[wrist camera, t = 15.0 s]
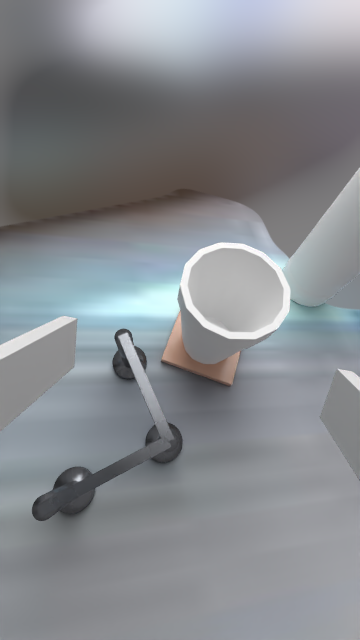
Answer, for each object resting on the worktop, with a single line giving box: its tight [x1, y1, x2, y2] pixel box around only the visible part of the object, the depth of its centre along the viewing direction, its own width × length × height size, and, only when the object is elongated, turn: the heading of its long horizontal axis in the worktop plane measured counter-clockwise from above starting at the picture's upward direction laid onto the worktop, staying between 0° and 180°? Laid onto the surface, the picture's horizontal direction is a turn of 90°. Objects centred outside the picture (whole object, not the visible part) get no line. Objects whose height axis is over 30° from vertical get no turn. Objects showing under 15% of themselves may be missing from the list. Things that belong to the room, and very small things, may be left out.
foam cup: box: [178, 243, 290, 364], centre depth 29 cm, size 10×9×13 cm
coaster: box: [161, 311, 241, 386], centre depth 35 cm, size 9×9×1 cm
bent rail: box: [32, 329, 182, 521], centre depth 26 cm, size 11×18×10 cm, turn 161°
